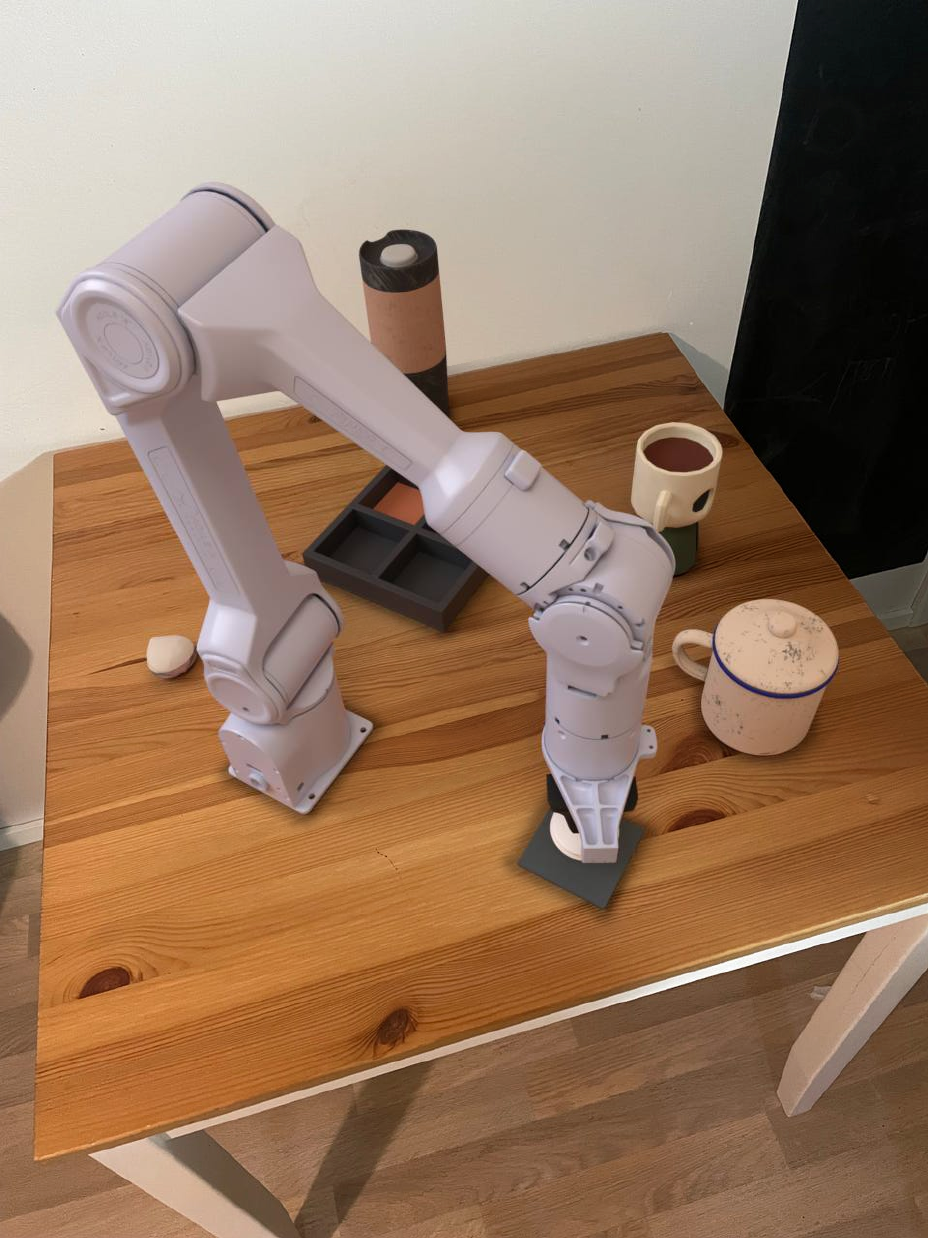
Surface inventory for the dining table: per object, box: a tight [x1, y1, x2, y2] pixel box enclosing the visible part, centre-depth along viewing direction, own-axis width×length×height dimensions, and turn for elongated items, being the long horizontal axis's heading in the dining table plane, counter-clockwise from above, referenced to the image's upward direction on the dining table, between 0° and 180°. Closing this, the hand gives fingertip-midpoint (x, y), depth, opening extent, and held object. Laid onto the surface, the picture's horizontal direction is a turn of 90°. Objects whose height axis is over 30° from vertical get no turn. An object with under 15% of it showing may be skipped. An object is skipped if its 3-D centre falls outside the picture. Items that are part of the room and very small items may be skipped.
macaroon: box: [146, 634, 198, 679], centre depth 81 cm, size 4×5×2 cm
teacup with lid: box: [671, 598, 840, 756], centre depth 71 cm, size 12×9×12 cm
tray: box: [301, 464, 490, 633], centre depth 88 cm, size 15×15×3 cm
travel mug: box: [358, 228, 450, 419], centre depth 95 cm, size 8×8×20 cm
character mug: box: [630, 421, 723, 576], centre depth 82 cm, size 11×7×13 cm, turn 158°
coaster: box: [516, 807, 646, 911], centre depth 68 cm, size 7×7×1 cm
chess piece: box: [550, 812, 619, 861], centre depth 62 cm, size 5×5×10 cm
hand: (584, 812), depth 64 cm, fingers closed on chess piece
